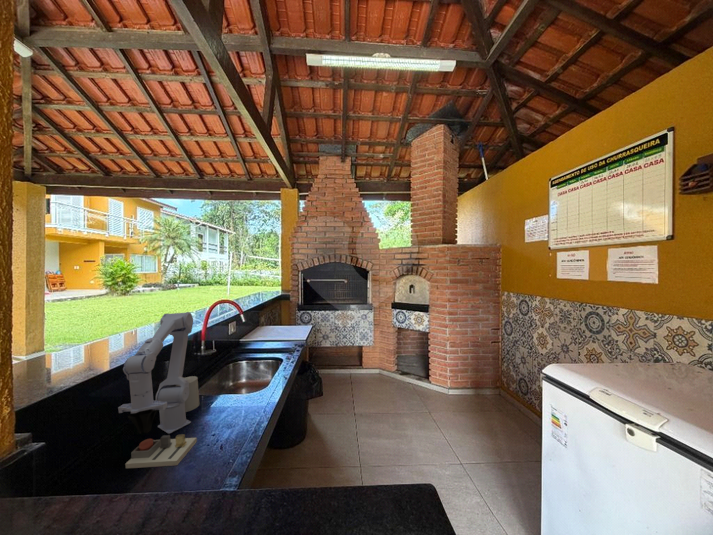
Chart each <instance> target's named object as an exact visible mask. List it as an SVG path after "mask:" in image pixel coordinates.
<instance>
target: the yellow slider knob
mask: <svg viewBox="0 0 713 535" xmlns="http://www.w3.org/2000/svg"><path fill="white" fill-rule="evenodd" d="M185 438H186V434H185V433H184V434H183V433H181V434H177V435H176V436H175V439H176V445H175V447H184V445H185V444H186V443H187V442H185Z"/></svg>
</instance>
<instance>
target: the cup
mask: <svg viewBox="0 0 713 535" xmlns="http://www.w3.org/2000/svg"><path fill="white" fill-rule="evenodd" d="M184 378H185V379H186V380H187V381H188V382H189V396H188V398H187V400H186V401H185V413H187V412H191V411H193V410H195V409H197V408H198V407H199V406H200V393H199V381H198V376H195V375H194V376H193V375H191V376H187V377H186V376H185V377H184ZM175 386H180V385H175Z"/></svg>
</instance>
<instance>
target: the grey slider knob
mask: <svg viewBox="0 0 713 535" xmlns="http://www.w3.org/2000/svg"><path fill="white" fill-rule="evenodd" d="M170 439H171V434H166V435H165V434H164V435H162V436H161V437H160V440H161V446H160V448H169V446H170V445H171V444H172V442H171V440H170Z"/></svg>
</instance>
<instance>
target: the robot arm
mask: <svg viewBox="0 0 713 535" xmlns="http://www.w3.org/2000/svg"><path fill="white" fill-rule="evenodd" d="M193 324H194V318H193V315H192V314H191V312H190V311H186V312H178V313H177V312H176V313H174V312H173V313H164V314H163V315H162V317H161V318H160V324H159V327H158V329H157V330H156V332H155V333H154V335H153V337H150V338H147V339H146V340H145V341H144V343H143V344H142V345H141V347H140V348H139V349H138V350H137V352H135V354H134V355H132V356H130V357H128V358H126V360H125V361H124V364H123V368H122V372H123V373H124V375H126V380H127V381H129V393H130V402H129V403H123V404H122V405H120V406H118V407H117V409H118V414H122V413H124V412H125V413H126V412H128V413H129V412H130V414H129V415H128V416H127V418H128V420H130V421H131V422H132V423H133V425H134V426H135V428H136V430H137V432H138V434H139V435H141V434H142V433H144V434H148V433H149V432H151V431H152V426H153V421H154V418H155V416H156V413H157V411H158V412H159V422H160V423H159V424H158V425H157V428H159V430H162V431H164V432H165V433H167V435H171V434H172V433H174V432H176V431H178V430H180V429H182V428H184V427H185V426H188V425H189V424H191V423H192V421H191V420H189V419H187V417H186V416H187V415H186V414H187V413H186V412H185V401H186V400H187V398H188V396H189V382H188V381H187V380H186V379H185V378H186V377H183V374H184V368H185V361H186V355H187V354H186V353H187V347H188V339H189V334H191V333H192V330H193ZM169 335H171V336H172V338H173V340H172V346H171V352H170V358H169V364H168V369H167V371H168V372H167V377H166V378H165V379H164V380H163V381H162V382H160V383H159V384H158V385H159V386H158V389H157V391H156V393H155V400H154V393H153V392H154V390H153V380H152V377H153V376H152V370H153V369H154V368H155V365H156V361H157V356H158V355H159V354H160V352H161V350H162V349H163V348H164V341H165V340H166V339H167V338H168V336H169ZM176 385H180V386H176Z"/></svg>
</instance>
